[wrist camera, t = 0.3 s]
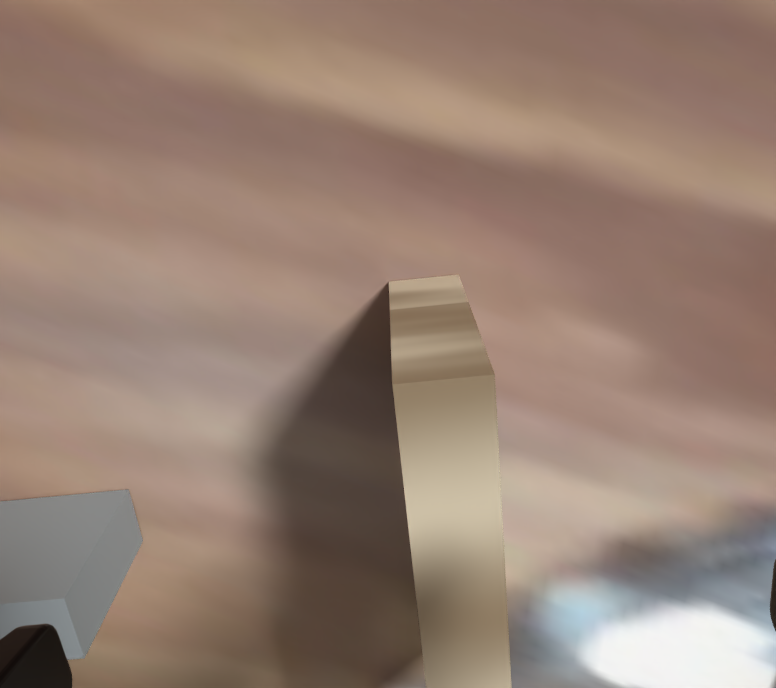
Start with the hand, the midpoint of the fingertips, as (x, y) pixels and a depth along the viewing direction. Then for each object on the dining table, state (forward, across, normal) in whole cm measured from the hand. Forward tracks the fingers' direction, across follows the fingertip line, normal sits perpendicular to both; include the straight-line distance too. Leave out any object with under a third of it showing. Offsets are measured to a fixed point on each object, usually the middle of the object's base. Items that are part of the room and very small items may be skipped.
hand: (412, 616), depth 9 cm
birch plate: (+13, -1, +5) cm, 14 cm away
